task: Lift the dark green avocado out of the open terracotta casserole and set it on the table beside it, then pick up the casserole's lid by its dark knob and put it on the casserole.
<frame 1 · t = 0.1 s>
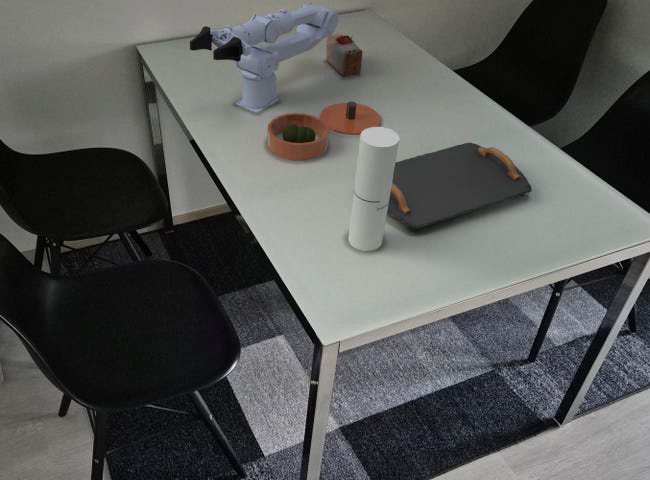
hand: (202, 50, 151), 22 cm above the table, tool horizontal, fingers open, 7 cm apart
pot: (297, 145, 162), on the table
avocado: (297, 144, 162), resting on pot
serving tray: (443, 191, 149), on the table
lid: (350, 118, 171), point 1 cm above the table
food item: (342, 68, 196), on the table
cylindrical container: (365, 240, 135), on the table
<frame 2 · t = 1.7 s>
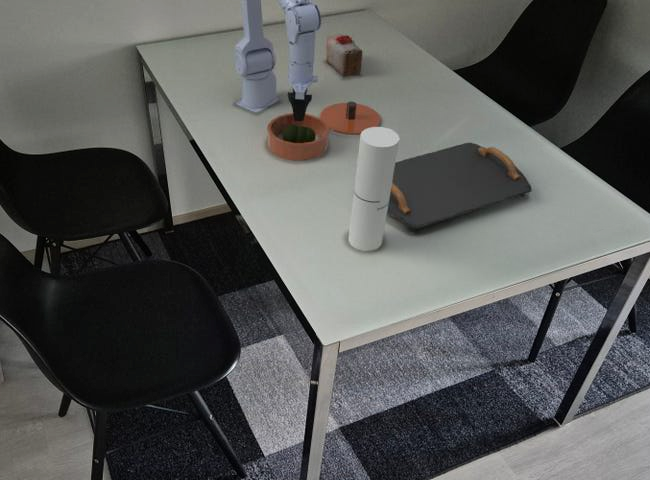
hand: (299, 112, 156), 9 cm above the table, tool pointing down, fingers open, 7 cm apart
nothing on the table moved.
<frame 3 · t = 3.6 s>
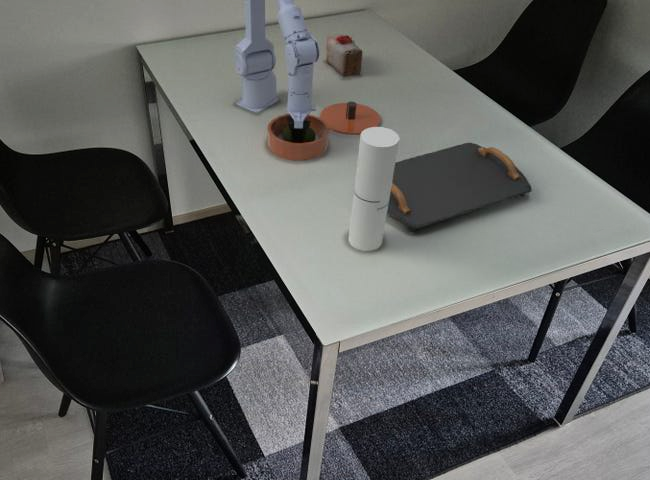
hand: (297, 139, 161), 2 cm above the table, tool pointing down, fingers closed on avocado, 5 cm apart
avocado: (297, 143, 162), resting on pot, touching gripper
everything else where it was.
when the fingers open (1 cm above the table, at t = 8.0 s): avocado stays where it is, on the table.
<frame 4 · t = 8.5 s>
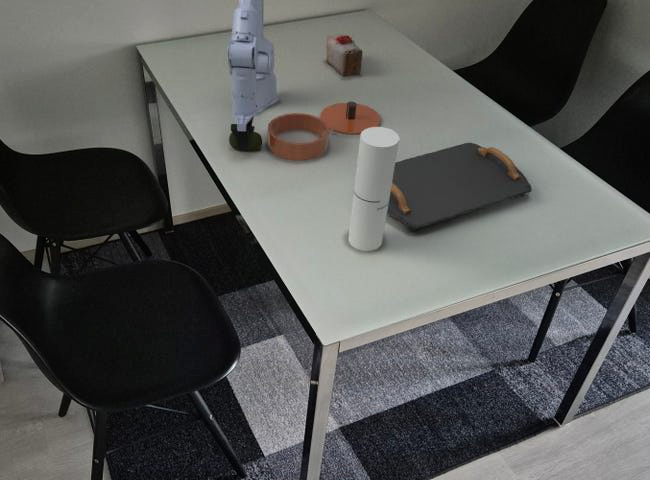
hand: (244, 142, 159), 2 cm above the table, tool pointing down, fingers open, 7 cm apart
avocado: (244, 148, 160), on the table
everything else where it was.
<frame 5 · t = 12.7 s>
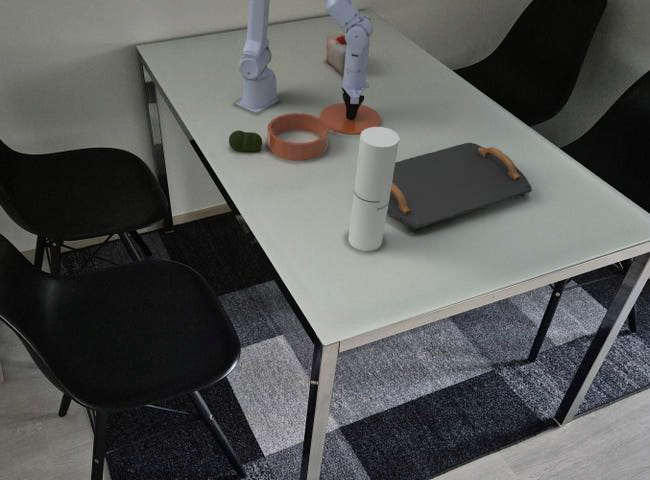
hand: (350, 115, 171), 2 cm above the table, tool pointing down, fingers closed on lid, 2 cm apart
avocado: (244, 148, 160), on the table, tilted 11°
lid: (350, 118, 171), point 1 cm above the table, touching gripper
everything else where it was.
when the fingers open (6 cm above the table, at t = 16.6 s): lid stays where it is, resting on pot.
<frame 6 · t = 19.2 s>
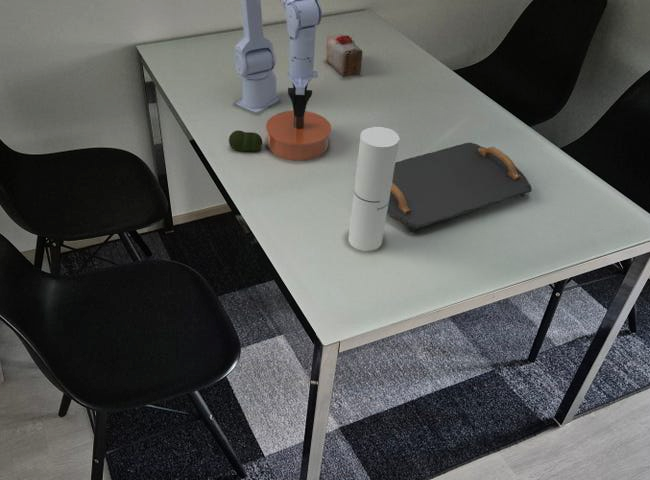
hand: (299, 108, 155), 10 cm above the table, tool pointing down, fingers open, 7 cm apart
lid: (298, 128, 159), point 5 cm above the table, touching pot
everything else where it was.
at the end: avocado inside the target area (0.0 cm from its centre), on the table; lid 0.0 cm off-centre on the pot, point 4.9 cm above the pot's base; lid tilted 0° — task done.
